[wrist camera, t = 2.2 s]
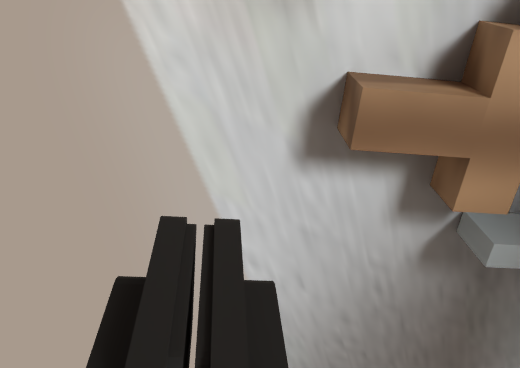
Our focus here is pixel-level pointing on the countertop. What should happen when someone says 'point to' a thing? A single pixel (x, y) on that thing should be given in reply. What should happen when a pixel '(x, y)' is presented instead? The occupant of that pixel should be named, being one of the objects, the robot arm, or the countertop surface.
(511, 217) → the pocket
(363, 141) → the T block
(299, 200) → the countertop surface
